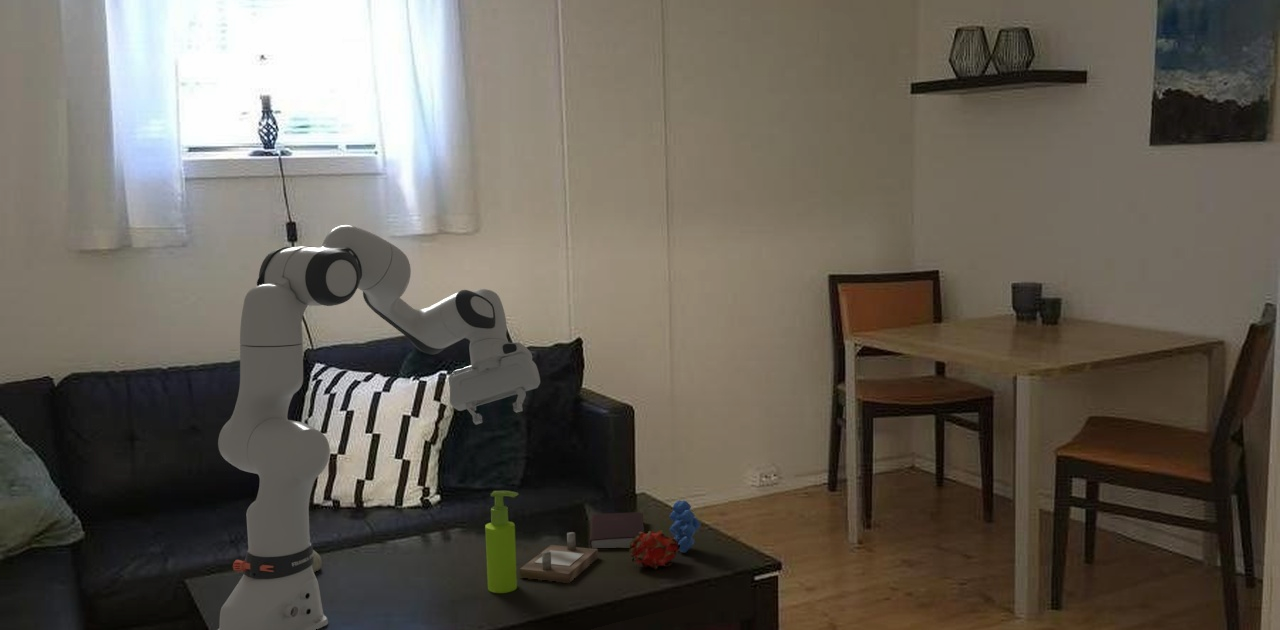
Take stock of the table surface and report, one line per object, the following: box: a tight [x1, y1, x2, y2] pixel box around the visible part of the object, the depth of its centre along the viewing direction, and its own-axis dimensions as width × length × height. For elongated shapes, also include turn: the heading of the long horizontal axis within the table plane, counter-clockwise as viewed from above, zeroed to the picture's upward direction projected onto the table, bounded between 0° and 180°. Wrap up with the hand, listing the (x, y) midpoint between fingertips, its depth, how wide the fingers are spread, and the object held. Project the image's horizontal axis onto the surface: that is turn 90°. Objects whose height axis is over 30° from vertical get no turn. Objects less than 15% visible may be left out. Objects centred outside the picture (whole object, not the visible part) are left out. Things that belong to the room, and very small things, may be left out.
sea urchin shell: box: [312, 549, 323, 573], centre depth 240 cm, size 9×8×8 cm
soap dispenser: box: [484, 490, 520, 594], centre depth 226 cm, size 6×7×20 cm
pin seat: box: [519, 531, 599, 584], centre depth 238 cm, size 16×11×6 cm
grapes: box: [669, 500, 702, 554], centre depth 246 cm, size 12×7×12 cm, turn 17°
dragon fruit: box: [628, 529, 680, 570], centre depth 238 cm, size 8×8×12 cm
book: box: [589, 512, 645, 549], centre depth 259 cm, size 12×19×3 cm, turn 1°
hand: (498, 417), depth 240 cm, fingers open, 8 cm apart
